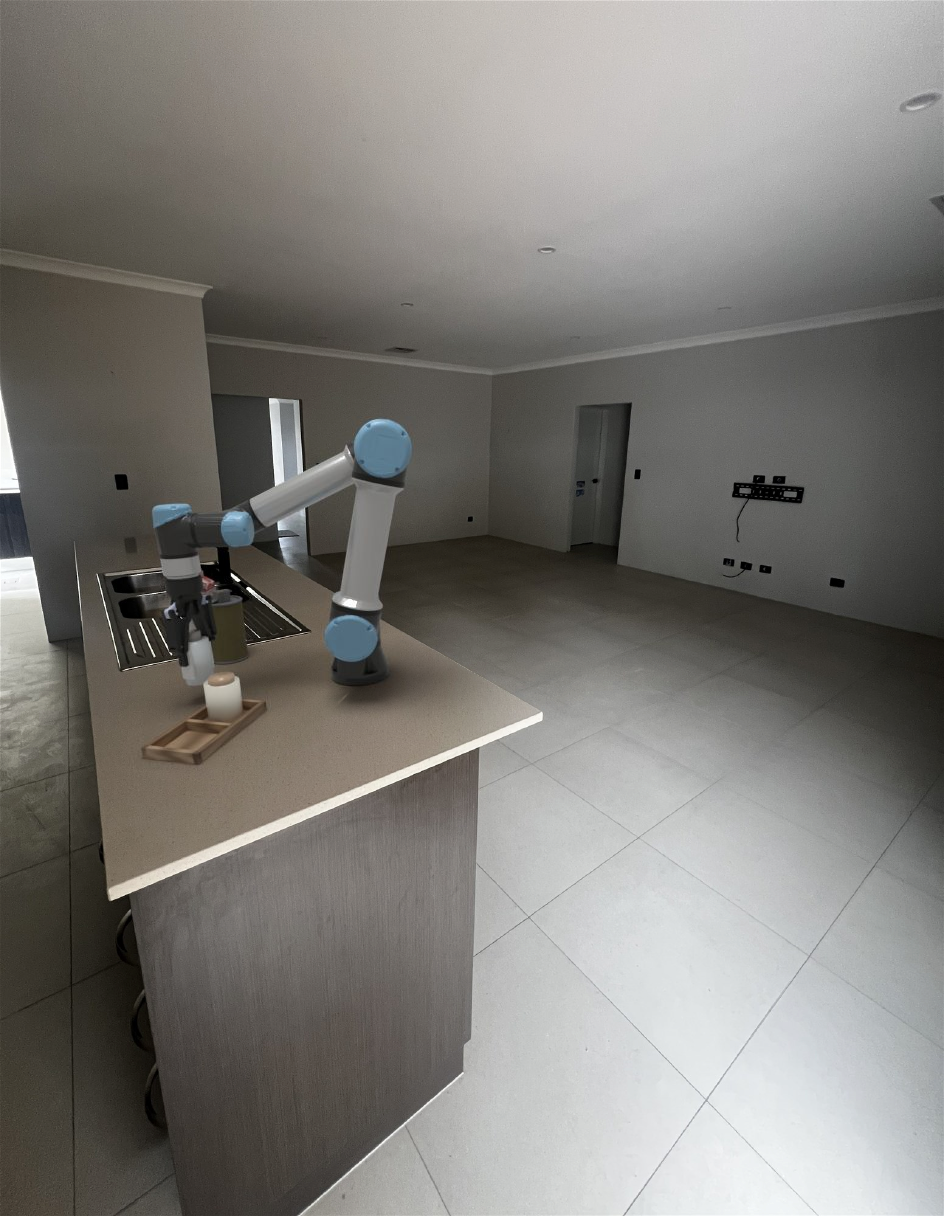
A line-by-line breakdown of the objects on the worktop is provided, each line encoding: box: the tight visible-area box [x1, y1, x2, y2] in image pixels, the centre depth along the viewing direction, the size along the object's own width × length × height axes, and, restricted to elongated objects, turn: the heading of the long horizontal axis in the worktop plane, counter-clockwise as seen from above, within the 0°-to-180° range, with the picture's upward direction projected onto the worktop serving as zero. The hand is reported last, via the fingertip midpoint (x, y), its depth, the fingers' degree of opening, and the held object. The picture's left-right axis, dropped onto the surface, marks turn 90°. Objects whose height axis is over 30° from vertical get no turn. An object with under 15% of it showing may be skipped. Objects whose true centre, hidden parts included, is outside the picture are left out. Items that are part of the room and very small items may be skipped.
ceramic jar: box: [202, 671, 244, 723], centre depth 116 cm, size 7×7×10 cm
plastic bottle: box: [185, 629, 215, 687], centre depth 124 cm, size 6×6×12 cm
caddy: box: [140, 698, 268, 766], centre depth 112 cm, size 12×23×3 cm, turn 169°
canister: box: [210, 588, 250, 665], centre depth 153 cm, size 11×10×20 cm
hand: (199, 672), depth 125 cm, fingers closed on plastic bottle, 6 cm apart
